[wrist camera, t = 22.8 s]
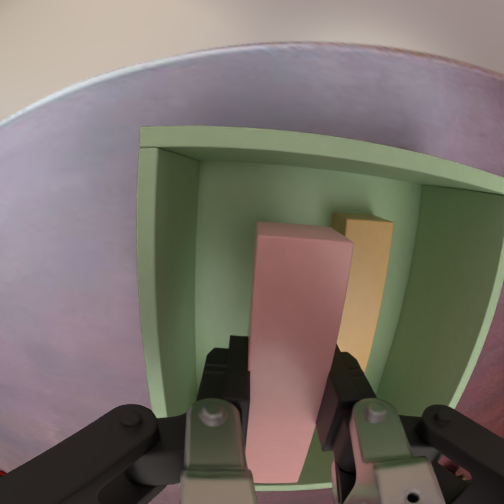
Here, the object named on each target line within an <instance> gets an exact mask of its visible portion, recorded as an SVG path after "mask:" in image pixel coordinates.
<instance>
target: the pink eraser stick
mask: <svg viewBox="0 0 504 504" xmlns="http://www.w3.org/2000/svg"><path fill="white" fill-rule="evenodd" d="M353 246H354V242H352V241H351V240H349V239H348V238H346V237H345V236H343V235H342V234H340V233H339V232H337V231H336V230H334V229H333V228H331V227H327V226H315V225H302V224H289V223H275V222H260V221H257V222H256V230H255V244H254V259H253V273H252V287H251V302H250V316H249V330H248V371H250V408H249V419H248V429H247V440H246V450H245V455H246V461H247V467H248V469H251V471H252V475H253V480H254V483H297V482H298V479H299V476H300V474H301V471H302V468H303V465H304V462H305V459H306V456H307V453H308V449H309V446H310V443H311V440H312V437H313V433H314V430H315V427H316V424H315V423H316V419H317V416H318V412H319V409H320V405H321V401H322V397H323V394H324V390H325V386H326V382H327V378H328V374H329V372H330V370H331V366H332V361H333V357H334V353H335V348H336V343H337V339H338V334H339V329H340V324H341V319H342V314H343V309H344V303H345V297H346V292H347V286H348V280H349V273H350V267H351V260H352V253H353Z"/></svg>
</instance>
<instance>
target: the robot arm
mask: <svg viewBox="0 0 504 504" xmlns="http://www.w3.org/2000/svg"><path fill="white" fill-rule="evenodd" d="M249 408H250V371H248V336H236V335H230V341H229V348H217V347H214V348H213V349H212V350H211V351H210V352H209V353H208V354H207V356H206V361H205V366H204V369H203V374H202V378H201V382H200V387H199V391H198V396H197V400H196V402H195V403H193V404H192V405H191V406H190V407H189V408H188V410H187V412H186V413H184V414H182V415H178V416H174V417H164V418H156V416H155V414H154V413H153V412H152V411H151V410H150V409H148V408H146V407H144V406H141V405H136V404H127V405H121V406H118V407H116V408H114V409H113V410H111V411H110V412H108V413H106V414H105V415H103V416H102V417H100V418H99V419H97V420H96V421H94V422H92V423H91V424H89V425H88V426H86V427H85V428H83V429H81V430H80V431H78V432H77V433H75V434H73V435H72V436H70V437H69V438H67V439H65V440H64V441H62V442H60V443H59V444H57V445H55V446H54V447H52V448H50V449H49V450H47V451H45V452H44V453H42V454H40V455H39V456H37V457H35V458H33V459H32V460H30V461H28V462H26V463H25V464H23V465H21V466H19V467H18V468H16V469H14V470H12V471H10V472H9V473H7V474H5V475H3V476H1V477H0V504H148V503H149V502H150V501H151V500H152V499H153V498H154V497H155V496H157V495H158V494H159V493H160V492H161V491H162V490H163V489H164V488H165V487H166V486H167V485H169V484H179V483H180V502H179V504H258V502H257V497H256V491H255V485H254V480H253V475H252V471H251V469H248V467H247V461H246V455H245V450H246V440H247V429H248V419H249ZM315 424H316V428H317V433H318V437H319V441H320V445H321V450H322V452H324V451H333V454H334V459H333V461H332V463H331V476H332V489H333V504H504V439H503V438H501V437H499V436H498V435H496V434H494V433H493V432H491V431H489V430H488V429H486V428H484V427H483V426H481V425H479V424H478V423H476V422H474V421H473V420H471V419H469V418H468V417H466V416H464V415H463V414H461V413H459V412H458V411H456V410H455V409H453V408H451V407H449V406H446V405H441V404H435V405H431V406H429V407H427V408H426V409H425V410H424V412H423V414H422V416H421V417H417V416H405V415H398V412H397V410H396V409H395V407H394V406H393V405H392V404H390V403H389V402H387V401H384V400H382V399H377V397H376V395H375V393H374V391H373V389H372V387H371V385H370V383H369V381H368V379H367V378H366V376H365V374H364V372H363V370H362V369H361V366H360V365H359V363H358V361H357V359H356V358H355V357H353V356H352V355H351V354H350V353H348V352H341V351H340V349H339V347H338V345H337V343H336V348H335V353H334V357H333V361H332V366H331V370H330V372H329V374H328V378H327V382H326V386H325V390H324V394H323V397H322V401H321V405H320V409H319V412H318V416H317V419H316V423H315ZM442 455H445V456H446V457H448V458H449V459H451V460H452V461H454V462H455V463H457V464H458V465H460V466H461V467H463V468H464V469H466V470H467V471H468V472H470V474H471V476H472V479H471V480H467V481H466V480H462V479H461V478H459V477H458V476H456V475H455V474H453V473H452V472H450V471H449V470H447V469H446V468H445V467H443V466H442V465H440V464H439V463H438V461H439V460H440V458H441V457H442Z"/></svg>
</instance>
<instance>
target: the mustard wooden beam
mask: <svg viewBox="0 0 504 504" xmlns="http://www.w3.org/2000/svg"><path fill="white" fill-rule="evenodd" d="M393 224H394V223H393V222H392V221H389V220H386V219H384V218H381V217H378V216H375V215H366V214H353V213H341V212H333V216H332V228H333V229H334V230H336V231H337V232H339V233H340V234H342V235H343V236H345V237H346V238H348V239H349V240H351V241H352V242H354V246H353V253H352V260H351V267H350V273H349V280H348V286H347V292H346V297H345V303H344V309H343V314H342V319H341V324H340V329H339V334H338V339H337V345H338V347H339V349H340V351H341V352H348V353H350V354H351V355H352V356H353V357H355V358H356V359H357V361H358V363H359V365H360V366H361V369H362V370H363V372H364V374H365V371H366V367H367V363H368V360H369V356H370V352H371V348H372V344H373V340H374V335H375V331H376V327H377V322H378V317H379V313H380V308H381V303H382V298H383V292H384V287H385V281H386V275H387V269H388V263H389V256H390V249H391V241H392V233H393Z"/></svg>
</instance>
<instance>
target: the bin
mask: <svg viewBox="0 0 504 504" xmlns="http://www.w3.org/2000/svg"><path fill="white" fill-rule="evenodd" d="M139 147H141V148H139V156H138V174H137V206H136V243H137V275H138V294H139V308H140V321H141V331H142V341H143V350H144V359H145V366H146V374H147V381H148V388H149V394H150V400H151V406H152V412H153V413H154V414H155V416H156V418H164V417H174V416H178V415H182V414H184V413H186V412H187V410H188V408H189V407H190V406H191V405H192V404H193V403H195V402H196V400H197V396H198V391H199V387H200V382H201V378H202V374H203V369H204V366H205V361H206V356H207V354H208V353H209V352H210V351H211V350H212V349H213V348H214V347H217V348H229V341H230V335H236V336H248V330H249V316H250V302H251V287H252V273H253V259H254V244H255V230H256V222H257V221H260V222H275V223H289V224H302V225H315V226H327V227H331V228H332V216H333V212H341V213H353V214H366V215H375V216H378V217H381V218H384V219H386V220H389V221H392V222H393V223H394V224H393V233H392V241H391V249H390V256H389V263H388V269H387V275H386V281H385V287H384V292H383V298H382V303H381V308H380V313H379V317H378V322H377V327H376V331H375V335H374V340H373V344H372V348H371V352H370V356H369V360H368V363H367V367H366V371H365V376H366V378H367V379H368V381H369V383H370V385H371V387H372V389H373V391H374V393H375V395H376V397H377V399H382V400H384V401H387V402H389V403H390V404H392V405H393V406H394V407H395V409H396V410H397V412H398V415H405V416H417V417H421V416H422V414H423V412H424V410H425V409H426V408H427V407H429V406H431V405H435V404H441V405H446V406H449V407H451V408H453V409H455V407H456V405H457V403H458V401H459V399H460V397H461V395H462V393H463V391H464V389H465V387H466V385H467V383H468V380H469V378H470V376H471V374H472V372H473V369H474V367H475V365H476V362H477V360H478V357H479V355H480V352H481V350H482V347H483V344H484V342H485V339H486V336H487V333H488V331H489V328H490V325H491V322H492V319H493V316H494V312H495V309H496V306H497V302H498V299H499V295H500V292H501V288H502V284H503V280H504V178H503V177H501V176H498V175H495V174H492V173H489V172H486V171H483V170H480V169H476V168H473V167H470V166H467V165H463V164H460V163H456V162H453V161H449V160H446V159H442V158H438V157H434V156H430V155H426V154H422V153H418V152H414V151H410V150H405V149H401V148H396V147H391V146H386V145H381V144H376V143H371V142H365V141H359V140H353V139H347V138H341V137H334V136H327V135H320V134H312V133H303V132H294V131H284V130H273V129H261V128H246V127H225V126H147V127H141V128H140V138H139ZM333 459H334V454H333V451H324V452H322V450H321V445H320V441H319V437H318V433H317V428H316V427H315V430H314V433H313V437H312V440H311V443H310V446H309V449H308V453H307V456H306V459H305V462H304V465H303V468H302V471H301V474H300V476H299V479H298V482H297V483H254V485H255V491H290V490H308V489H321V488H331V487H332V476H331V463H332V461H333ZM179 484H180V483H179Z"/></svg>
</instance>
